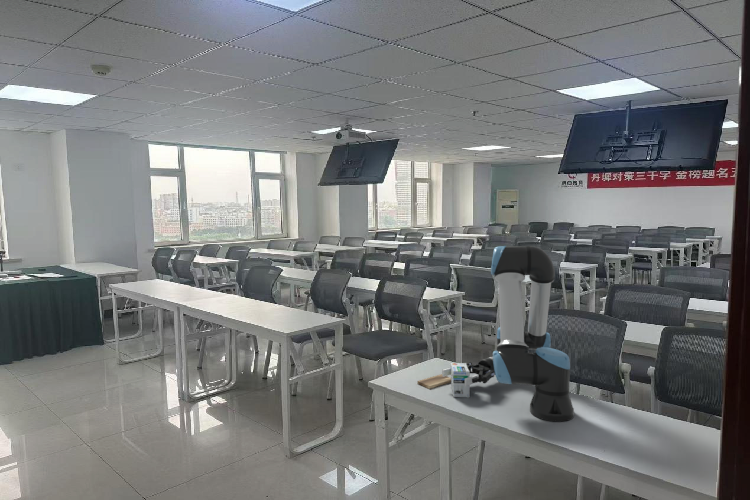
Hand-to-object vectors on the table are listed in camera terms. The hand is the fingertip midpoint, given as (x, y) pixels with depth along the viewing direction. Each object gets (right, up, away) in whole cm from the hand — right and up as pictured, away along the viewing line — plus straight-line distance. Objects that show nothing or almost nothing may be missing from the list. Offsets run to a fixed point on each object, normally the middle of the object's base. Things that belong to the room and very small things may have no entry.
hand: (453, 377), depth 199 cm
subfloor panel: (-6, -6, +14) cm, 16 cm away
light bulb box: (+3, -7, +3) cm, 8 cm away
